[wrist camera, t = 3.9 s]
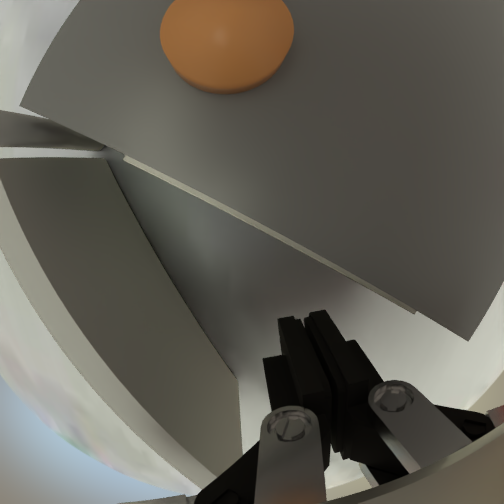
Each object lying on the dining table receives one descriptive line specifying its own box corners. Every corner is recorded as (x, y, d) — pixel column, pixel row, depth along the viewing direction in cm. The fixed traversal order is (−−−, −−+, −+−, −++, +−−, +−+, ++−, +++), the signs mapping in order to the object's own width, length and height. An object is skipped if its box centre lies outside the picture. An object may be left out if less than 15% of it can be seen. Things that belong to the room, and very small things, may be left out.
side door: (101, 126, 12) (-9, 100, 5) (246, 378, 16) (257, 496, 9) (77, 143, 12) (-39, 137, 5) (222, 387, 16) (223, 503, 9)
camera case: (247, -45, 10) (262, -157, 2) (469, 101, 13) (583, 89, 5) (120, 137, 13) (-5, 112, 4) (384, 278, 15) (491, 368, 7)
